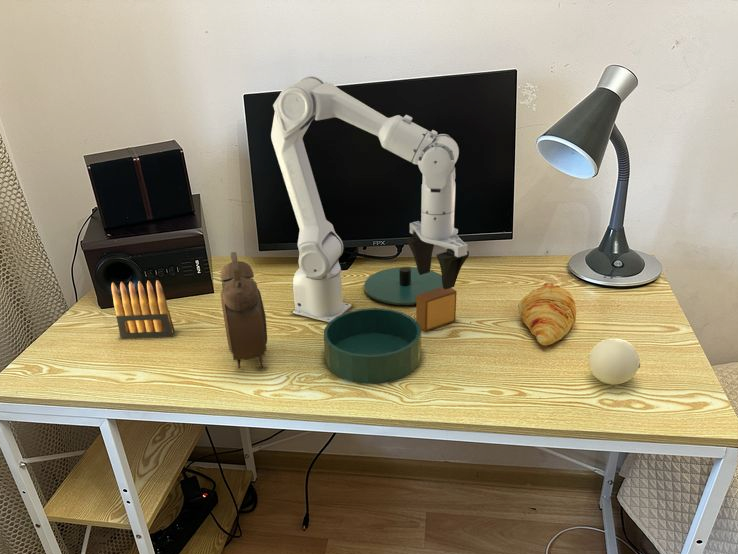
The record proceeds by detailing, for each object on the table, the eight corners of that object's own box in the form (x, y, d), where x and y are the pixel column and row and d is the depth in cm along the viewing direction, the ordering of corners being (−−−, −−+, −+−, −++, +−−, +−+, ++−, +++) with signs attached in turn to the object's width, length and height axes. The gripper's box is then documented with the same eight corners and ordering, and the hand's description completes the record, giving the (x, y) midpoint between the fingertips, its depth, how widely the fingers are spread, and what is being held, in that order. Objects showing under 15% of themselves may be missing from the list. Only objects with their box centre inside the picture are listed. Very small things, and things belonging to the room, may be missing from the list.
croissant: (559, 369, 112) (589, 336, 107) (509, 341, 112) (536, 308, 107) (558, 310, 129) (584, 280, 124) (515, 286, 129) (538, 255, 124)
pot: (313, 377, 110) (311, 350, 107) (340, 329, 123) (339, 304, 121) (410, 389, 105) (410, 361, 102) (427, 337, 118) (428, 312, 115)
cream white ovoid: (639, 395, 98) (649, 355, 95) (588, 392, 100) (595, 352, 96) (628, 360, 107) (636, 322, 103) (580, 358, 108) (586, 320, 105)
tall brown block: (415, 325, 123) (416, 294, 119) (445, 315, 125) (446, 285, 122) (425, 331, 120) (426, 301, 117) (455, 321, 122) (457, 291, 119)
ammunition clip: (120, 338, 127) (106, 284, 121) (123, 334, 129) (109, 280, 123) (172, 336, 126) (160, 281, 120) (175, 332, 128) (163, 277, 122)
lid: (355, 303, 132) (354, 284, 130) (375, 269, 146) (374, 250, 144) (439, 310, 127) (440, 290, 124) (452, 274, 140) (452, 255, 138)
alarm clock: (275, 374, 112) (262, 270, 101) (234, 381, 111) (216, 276, 100) (266, 334, 124) (253, 238, 114) (228, 340, 123) (212, 243, 113)
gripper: (483, 215, 107) (478, 288, 114) (432, 194, 118) (430, 261, 125) (449, 225, 104) (446, 298, 112) (400, 202, 116) (400, 271, 123)
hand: (436, 280), depth 118 cm, fingers open, 7 cm apart
